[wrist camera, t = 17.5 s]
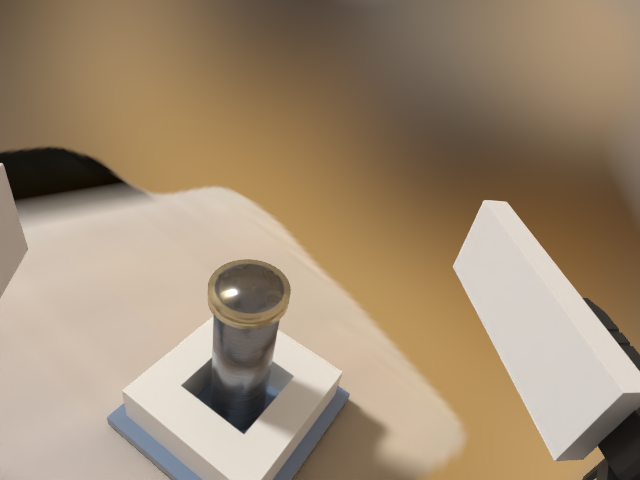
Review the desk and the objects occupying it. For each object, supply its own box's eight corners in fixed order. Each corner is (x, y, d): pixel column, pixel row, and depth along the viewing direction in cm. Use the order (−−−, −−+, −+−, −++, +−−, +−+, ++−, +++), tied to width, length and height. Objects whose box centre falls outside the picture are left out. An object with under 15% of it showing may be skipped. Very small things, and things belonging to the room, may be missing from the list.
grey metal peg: (191, 409, 37) (189, 288, 28) (234, 367, 40) (245, 249, 32) (241, 449, 35) (255, 333, 26) (281, 401, 39) (306, 285, 30)
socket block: (108, 424, 36) (101, 392, 33) (229, 320, 45) (231, 289, 43) (246, 545, 31) (251, 520, 28) (347, 400, 41) (358, 370, 38)
